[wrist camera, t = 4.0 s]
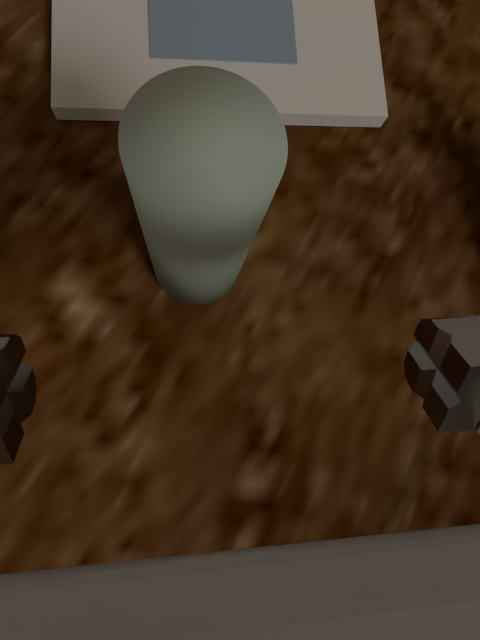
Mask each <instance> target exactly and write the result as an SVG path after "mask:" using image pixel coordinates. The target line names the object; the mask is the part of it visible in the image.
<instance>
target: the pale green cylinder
mask: <svg viewBox="0 0 480 640" xmlns="http://www.w3.org/2000/svg"><path fill="white" fill-rule="evenodd" d="M118 148H119V154H120V158H121V162H122V165H123V169H124V172H125V175H126V179H127V182H128V185H129V189H130V192H131V195H132V199H133V202H134V205H135V208H136V212H137V215H138V218H139V222H140V225H141V228H142V232H143V235H144V238H145V242H146V245H147V248H148V252H149V255H150V258H151V262H152V265H153V268H154V272H155V275H156V278H157V280H158V282H159V284H160V286H161V287H162V288H163V290H164V291H165V292H166V293H167V294H168V295H170V296H171V297H172V298H174V299H176V300H177V301H180V302H182V303H185V304H190V305H205V304H209V303H212V302H215V301H216V300H218V299H220V298H222V297H223V296H224V295H225V294H226V293H227V292H228V291H229V290H230V289H231V288H232V286H233V284H234V283H235V280H236V278H237V276H238V274H239V272H240V269H241V267H242V265H243V263H244V260H245V258H246V256H247V254H248V251H249V249H250V247H251V245H252V243H253V240H254V238H255V236H256V234H257V231H258V229H259V227H260V225H261V222H262V220H263V218H264V216H265V214H266V211H267V209H268V207H269V205H270V202H271V200H272V198H273V196H274V193H275V191H276V189H277V187H278V185H279V182H280V180H281V178H282V175H283V173H284V170H285V166H286V163H287V155H288V142H287V135H286V131H285V127H284V124H283V121H282V119H281V117H280V115H279V113H278V111H277V109H276V108H275V106H274V105H273V103H272V102H271V101H270V99H269V98H268V97H267V96H266V95H265V94H264V93H263V92H262V91H261V90H260V89H259V88H258V87H256V86H255V85H254V84H253V83H251V82H250V81H248V80H247V79H245V78H243V77H241V76H239V75H237V74H235V73H233V72H230V71H227V70H224V69H220V68H216V67H210V66H185V67H179V68H175V69H171V70H168V71H166V72H163V73H161V74H159V75H157V76H155V77H153V78H152V79H150V80H149V81H147V82H146V83H145V84H143V85H142V86H141V87H140V88H139V89H138V90H137V91H136V92H135V93H134V95H133V96H132V97H131V99H130V100H129V102H128V103H127V105H126V107H125V109H124V111H123V114H122V117H121V119H120V124H119V129H118Z"/></svg>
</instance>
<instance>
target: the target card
mask: <svg viewBox="0 0 480 640" xmlns="http://www.w3.org/2000/svg"><path fill="white" fill-rule="evenodd" d="M185 66H210V67H216V68H220V69H224V70H227V71H230V72H233V73H235V74H237V75H239V76H241V77H243V78H245V79H247V80H248V81H250V82H251V83H253V84H254V85H255V86H256V87H258V88H259V89H260V90H261V91H262V92H263V93H264V94H265V95H266V96H267V97H268V98H269V99H270V101H271V102H272V103H273V105H274V106H275V108H276V109H277V111H278V113H279V115H280V117H281V119H282V121H283V124H284V125H306V126H349V127H381V125H382V124H383V123H384V121H385V120H386V119H387V117H388V111H387V103H386V94H385V86H384V78H383V70H382V61H381V53H380V45H379V37H378V29H377V20H376V12H375V4H374V0H52V45H51V108H52V111H53V113H54V115H55V117H56V119H57V120H93V121H120V119H121V117H122V114H123V111H124V109H125V107H126V105H127V103H128V102H129V100H130V99H131V97H132V96H133V95H134V93H135V92H136V91H137V90H138V89H139V88H140V87H141V86H142V85H143V84H145V83H146V82H147V81H149V80H150V79H152V78H153V77H155V76H157V75H159V74H161V73H163V72H166V71H168V70H171V69H175V68H179V67H185Z"/></svg>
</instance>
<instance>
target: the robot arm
mask: <svg viewBox="0 0 480 640" xmlns="http://www.w3.org/2000/svg"><path fill="white" fill-rule="evenodd" d="M414 335H415V337H416V340H417V343H415V344H414V345H413V346H412V347H411V348H410V349H409V350H408V351H407V355H406V358H405V361H404V371H405V376H406V380H407V383H408V384H409V386H410V388H411V389H412V391H413V392H414V393H416V394H418V395H419V396H421V397H422V398H424V402H423V409H424V410H425V412H426V413H427V415H428V417H429V418H430V420H431V421H432V423H433V425H434V426H435V428H436V429H437V431H438V432H442V431H464V430H477V431H476V432H477V433H478V434H480V315H477V316H467V317H455V318H431V319H422V320H421V321H420V323H419V324H418V325H417V327H416V330H415V332H414ZM25 352H26V349H25V346H24V344H23V341H22V339H21V337H19V336H18V335H16V334H0V465H1V464H11V463H13V462H14V460H15V457H16V454H17V452H18V449H19V446H20V444H21V441H22V438H23V436H24V431H23V429H22V426H21V423H22V422H23V421H24V420H25V419H27V418H28V417H29V416H30V415H31V414H32V411H33V408H34V405H35V401H36V390H37V387H36V379H35V375H34V372H33V369H32V368H31V367H30V366H29V365H27V364H26V363H25V362H23V361H22V359H23V357H24V355H25ZM0 640H480V524H475V525H466V526H456V527H446V528H437V529H427V530H418V531H408V532H399V533H389V534H380V535H370V536H361V537H351V538H342V539H332V540H323V541H313V542H304V543H294V544H285V545H276V546H266V547H257V548H247V549H238V550H229V551H219V552H210V553H200V554H191V555H182V556H172V557H163V558H153V559H144V560H134V561H125V562H115V563H106V564H96V565H87V566H77V567H68V568H58V569H49V570H39V571H30V572H20V573H11V574H1V575H0Z"/></svg>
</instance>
